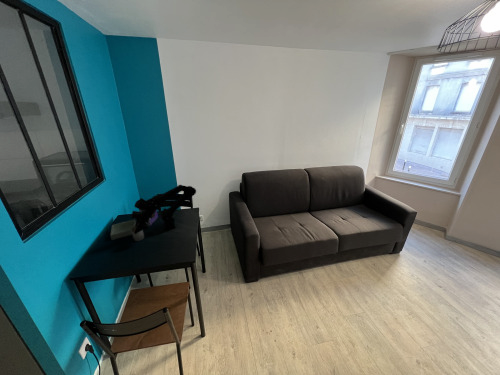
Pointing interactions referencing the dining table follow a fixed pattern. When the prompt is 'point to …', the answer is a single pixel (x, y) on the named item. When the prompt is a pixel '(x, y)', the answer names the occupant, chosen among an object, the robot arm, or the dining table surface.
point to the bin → (122, 229)
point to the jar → (137, 234)
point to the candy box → (151, 218)
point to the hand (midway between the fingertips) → (134, 230)
